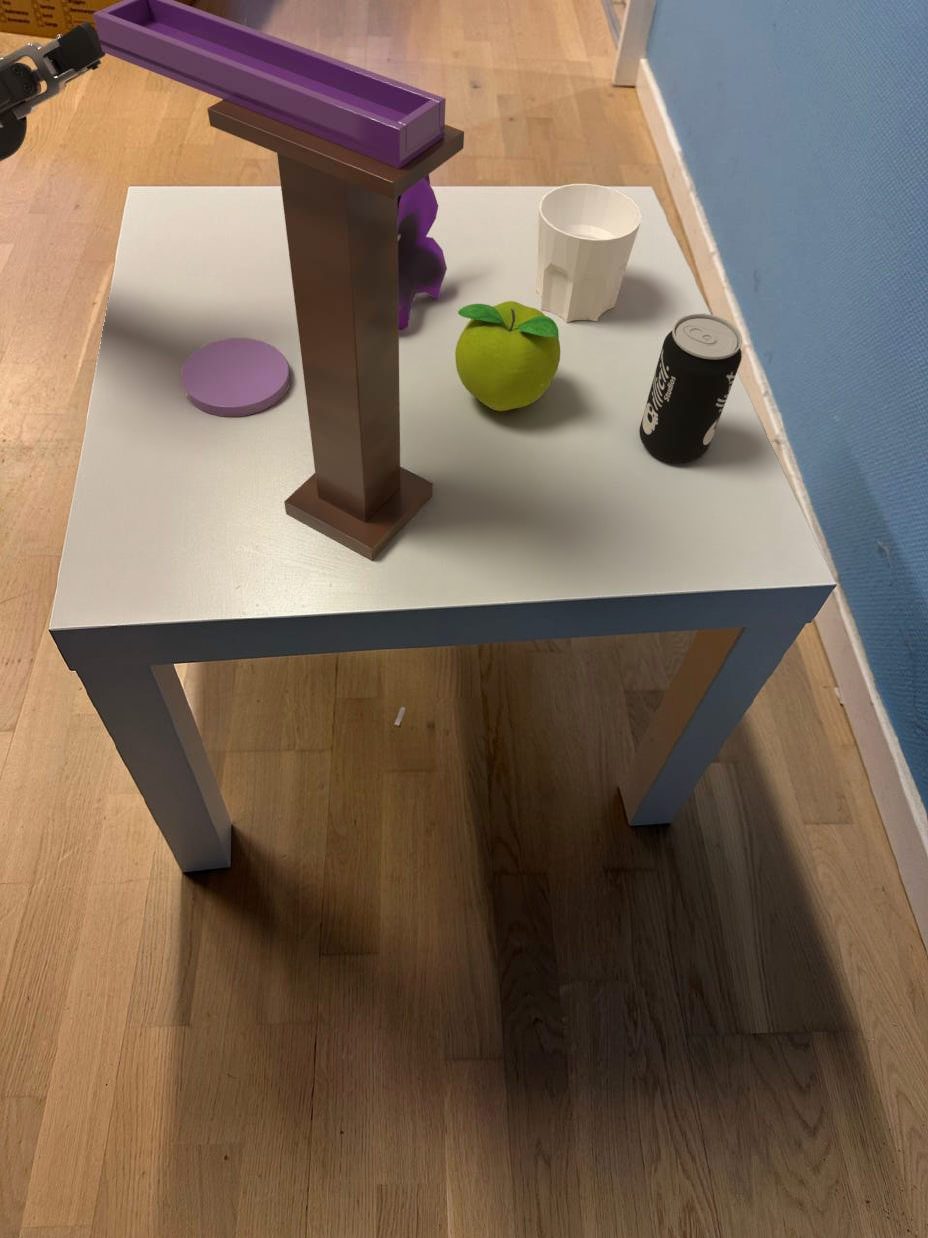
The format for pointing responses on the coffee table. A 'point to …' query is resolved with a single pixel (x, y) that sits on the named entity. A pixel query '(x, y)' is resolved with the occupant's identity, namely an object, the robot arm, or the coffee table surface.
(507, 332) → the fruit
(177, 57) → the purple dish
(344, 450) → the brown wooden pedestal
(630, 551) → the coffee table surface
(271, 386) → the lilac plate
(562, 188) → the cup
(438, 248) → the flower
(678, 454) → the beverage can
